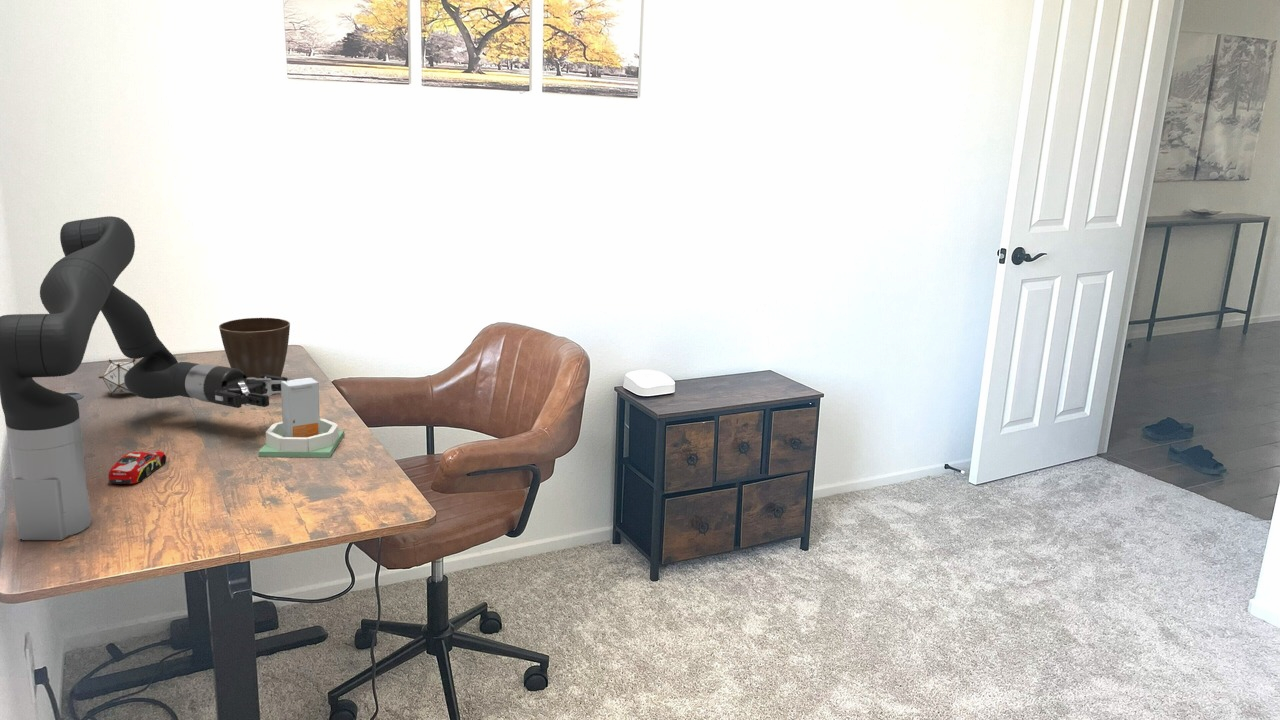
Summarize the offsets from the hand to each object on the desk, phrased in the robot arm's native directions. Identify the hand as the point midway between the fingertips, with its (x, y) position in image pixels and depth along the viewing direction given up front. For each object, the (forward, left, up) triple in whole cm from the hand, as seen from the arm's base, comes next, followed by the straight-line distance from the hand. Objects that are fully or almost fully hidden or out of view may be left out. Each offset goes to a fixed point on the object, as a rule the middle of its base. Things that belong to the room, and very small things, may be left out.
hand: (283, 395), depth 178 cm
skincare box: (-2, -4, -9) cm, 10 cm away
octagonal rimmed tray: (-2, -4, -10) cm, 11 cm away
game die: (+30, +43, -10) cm, 54 cm away
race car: (-17, +21, -10) cm, 28 cm away
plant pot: (+34, +15, -10) cm, 39 cm away
